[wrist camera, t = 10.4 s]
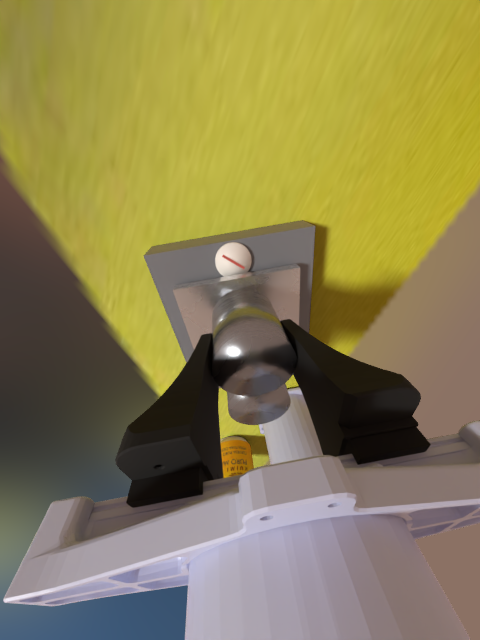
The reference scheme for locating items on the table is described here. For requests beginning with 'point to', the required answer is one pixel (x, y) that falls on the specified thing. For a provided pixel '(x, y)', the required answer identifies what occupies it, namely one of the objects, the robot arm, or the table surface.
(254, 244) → the scale base
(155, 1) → the table surface
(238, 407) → the steel weight
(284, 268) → the scale pan
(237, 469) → the beer can
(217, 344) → the cylinder
